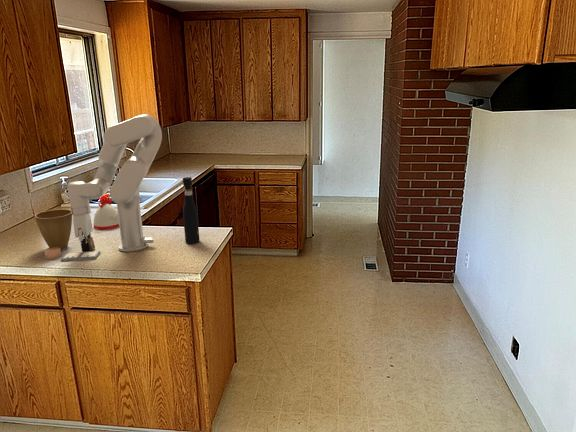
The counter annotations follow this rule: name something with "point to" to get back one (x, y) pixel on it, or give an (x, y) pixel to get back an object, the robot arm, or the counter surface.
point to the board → (80, 256)
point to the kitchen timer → (106, 216)
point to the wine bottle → (190, 214)
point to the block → (90, 243)
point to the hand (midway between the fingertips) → (87, 249)
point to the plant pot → (55, 227)
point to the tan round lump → (52, 253)
